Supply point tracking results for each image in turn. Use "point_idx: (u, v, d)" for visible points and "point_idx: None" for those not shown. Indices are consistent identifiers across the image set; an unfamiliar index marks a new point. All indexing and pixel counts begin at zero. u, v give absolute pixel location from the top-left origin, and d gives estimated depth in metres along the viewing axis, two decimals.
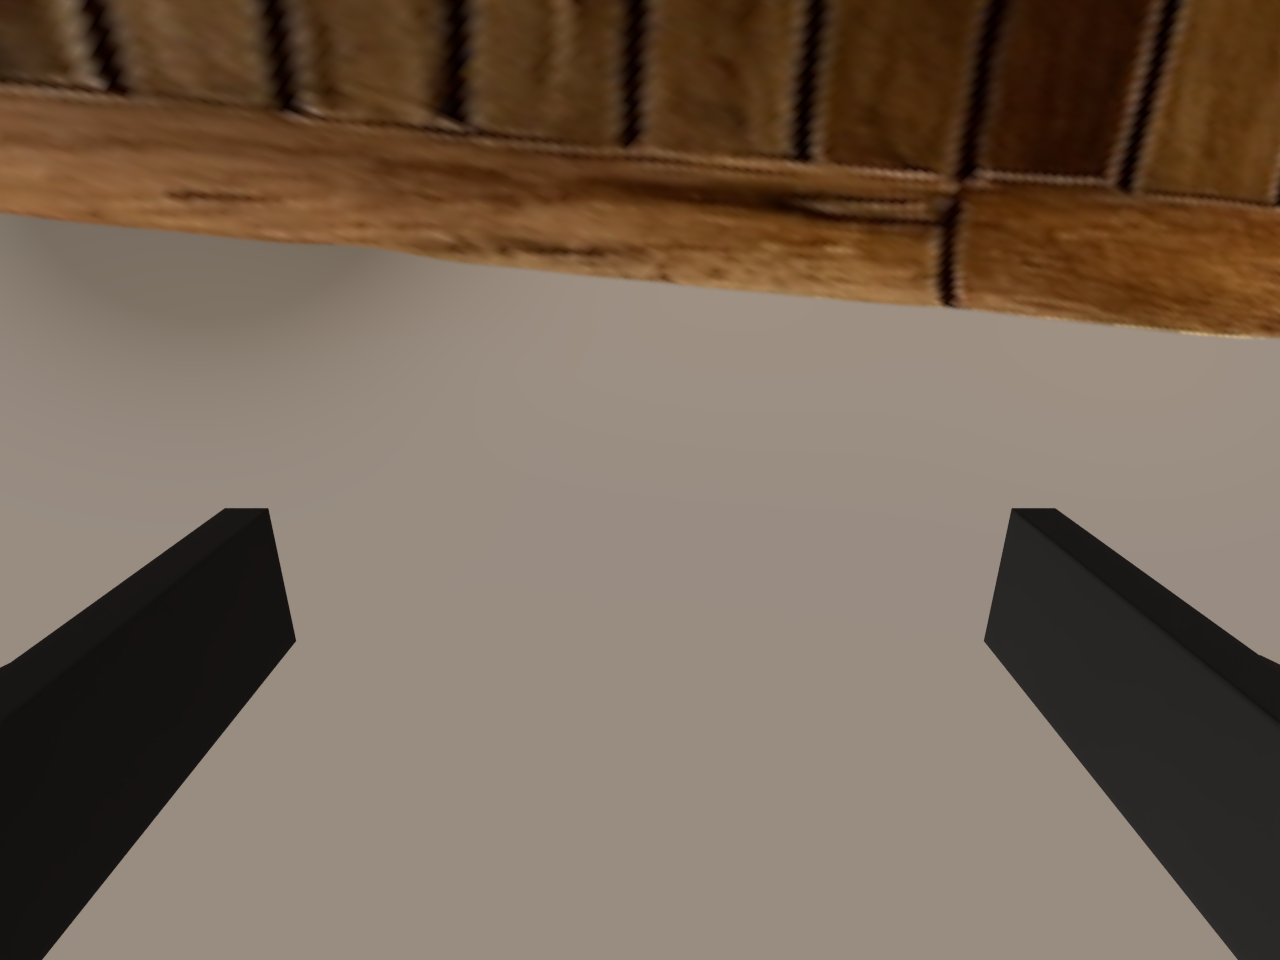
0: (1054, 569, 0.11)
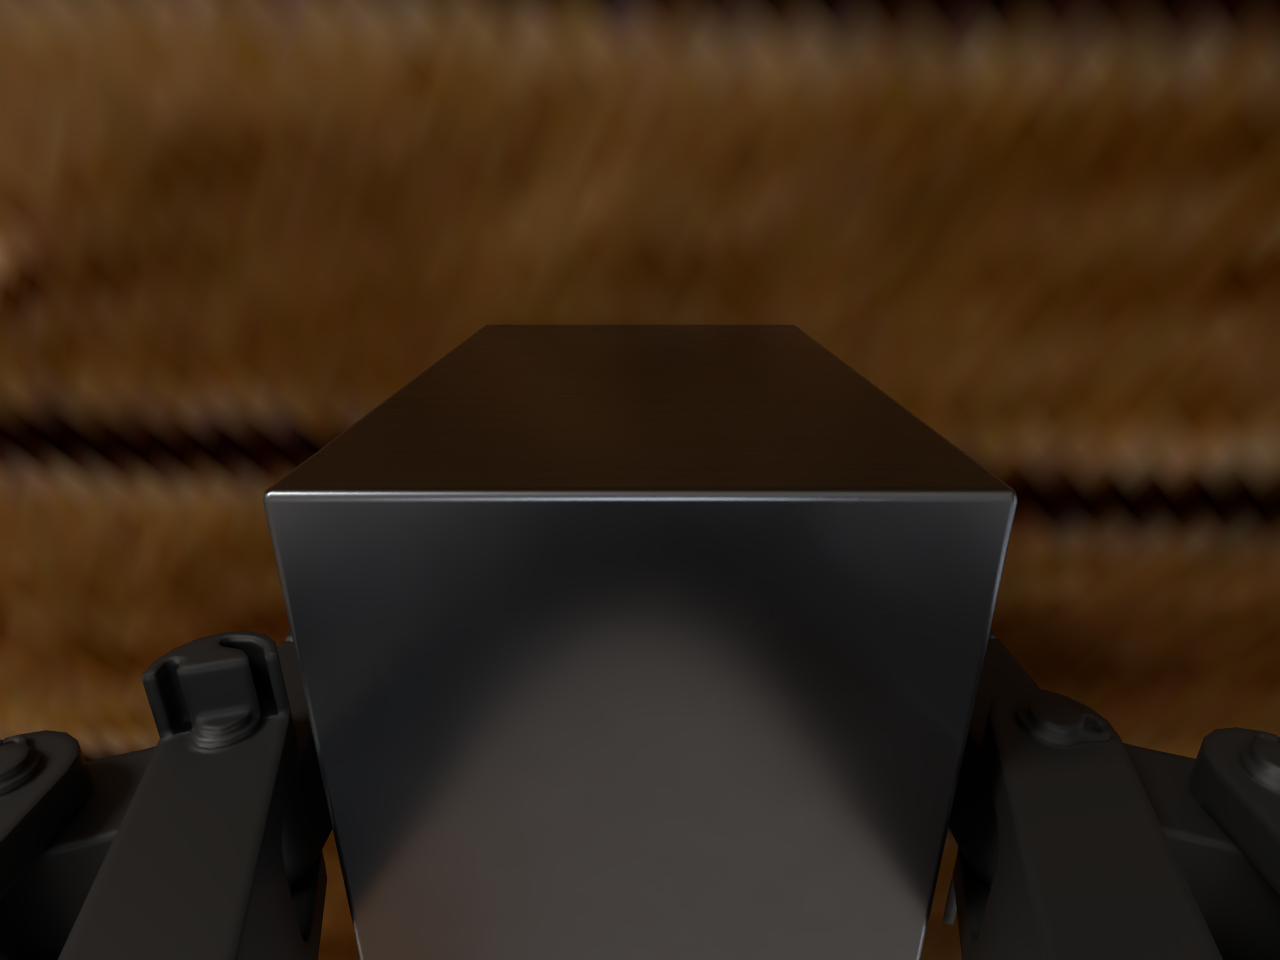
0: None
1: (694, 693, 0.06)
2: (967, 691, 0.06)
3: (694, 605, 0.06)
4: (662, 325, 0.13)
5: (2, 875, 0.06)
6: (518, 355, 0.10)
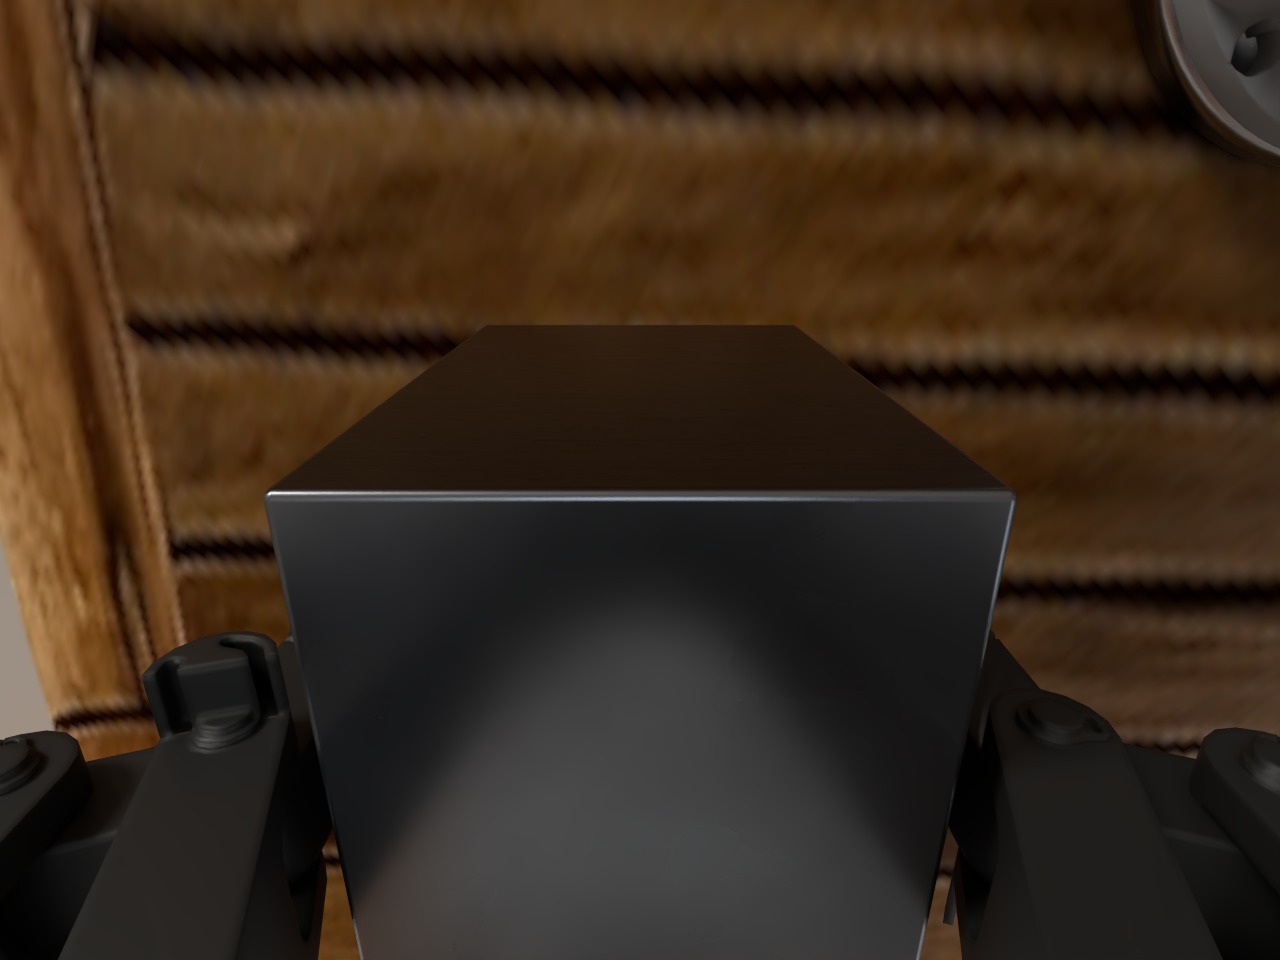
0: None
1: (694, 692, 0.06)
2: (967, 691, 0.06)
3: (695, 606, 0.06)
4: (662, 325, 0.13)
5: (2, 875, 0.06)
6: (518, 355, 0.10)
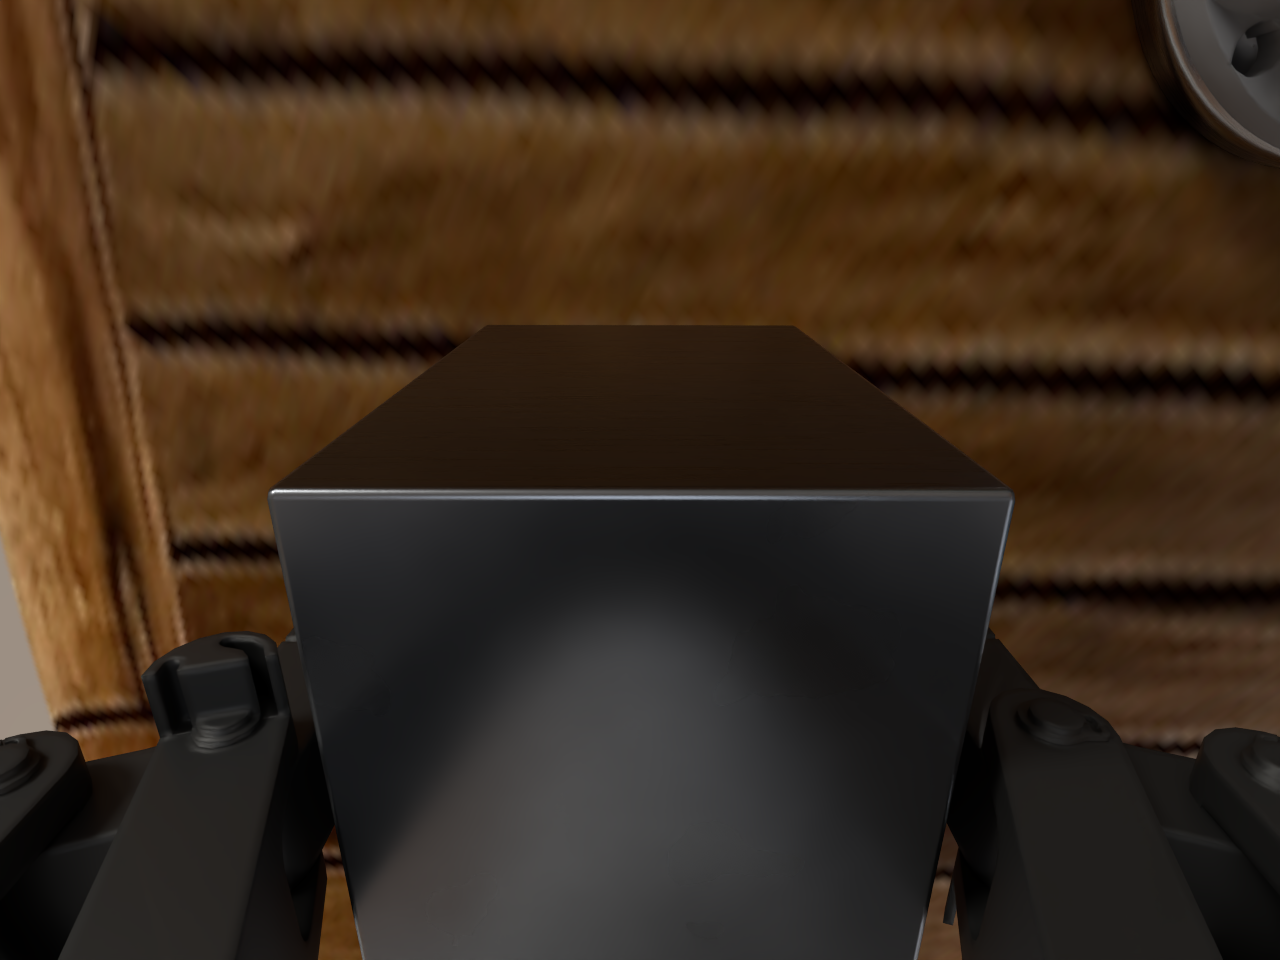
0: None
1: (695, 691, 0.06)
2: (965, 689, 0.06)
3: (695, 604, 0.06)
4: (662, 325, 0.13)
5: (1, 876, 0.06)
6: (519, 355, 0.10)
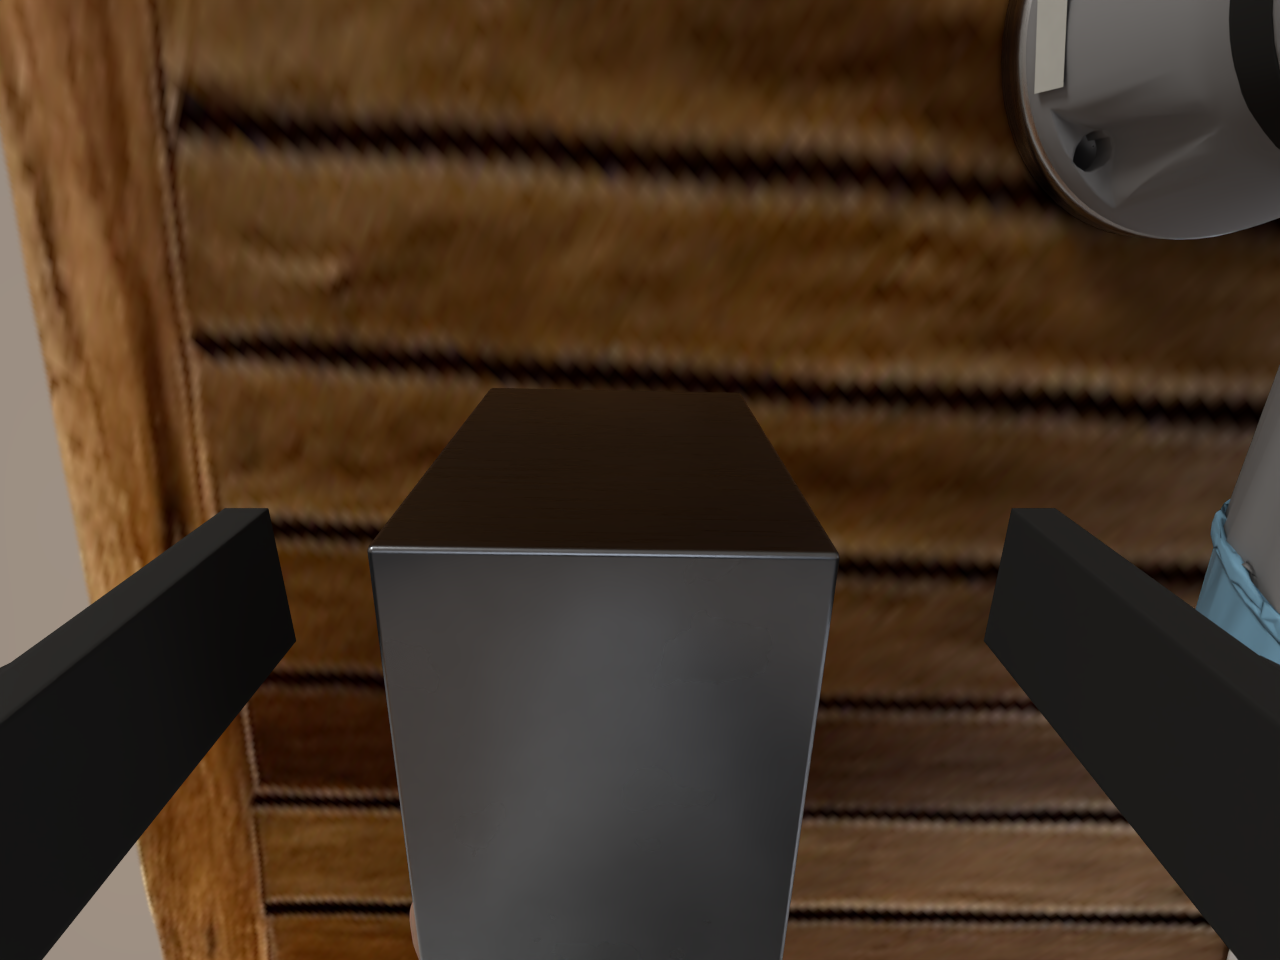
0: (1054, 569, 0.11)
1: (639, 677, 0.09)
2: (815, 678, 0.09)
3: (640, 622, 0.09)
4: (633, 391, 0.16)
5: None
6: (520, 424, 0.14)
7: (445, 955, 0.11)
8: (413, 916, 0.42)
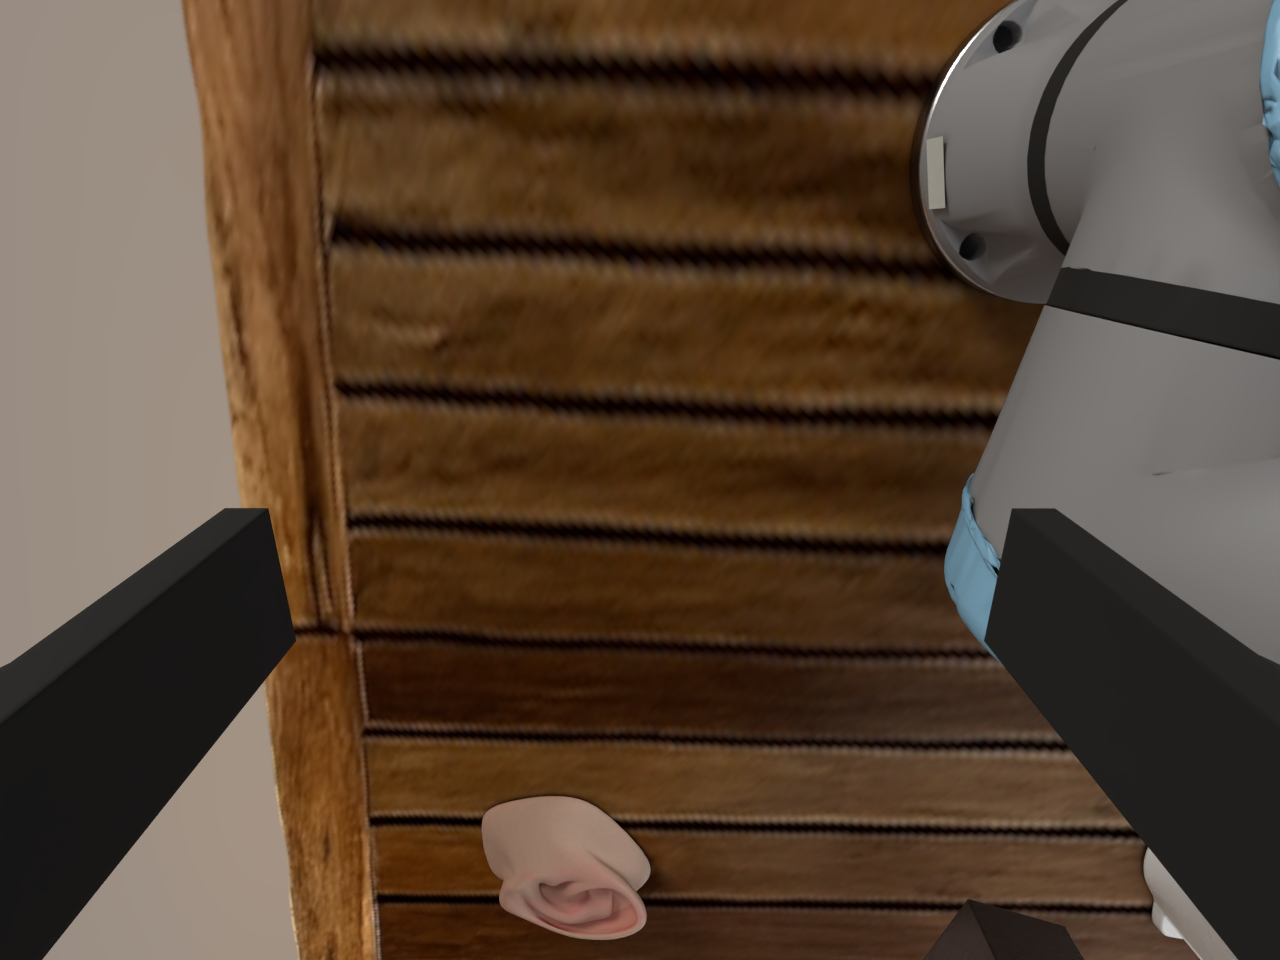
0: (1055, 569, 0.11)
1: None
2: None
3: None
4: (1025, 916, 0.37)
5: None
6: None
7: None
8: (485, 826, 0.53)
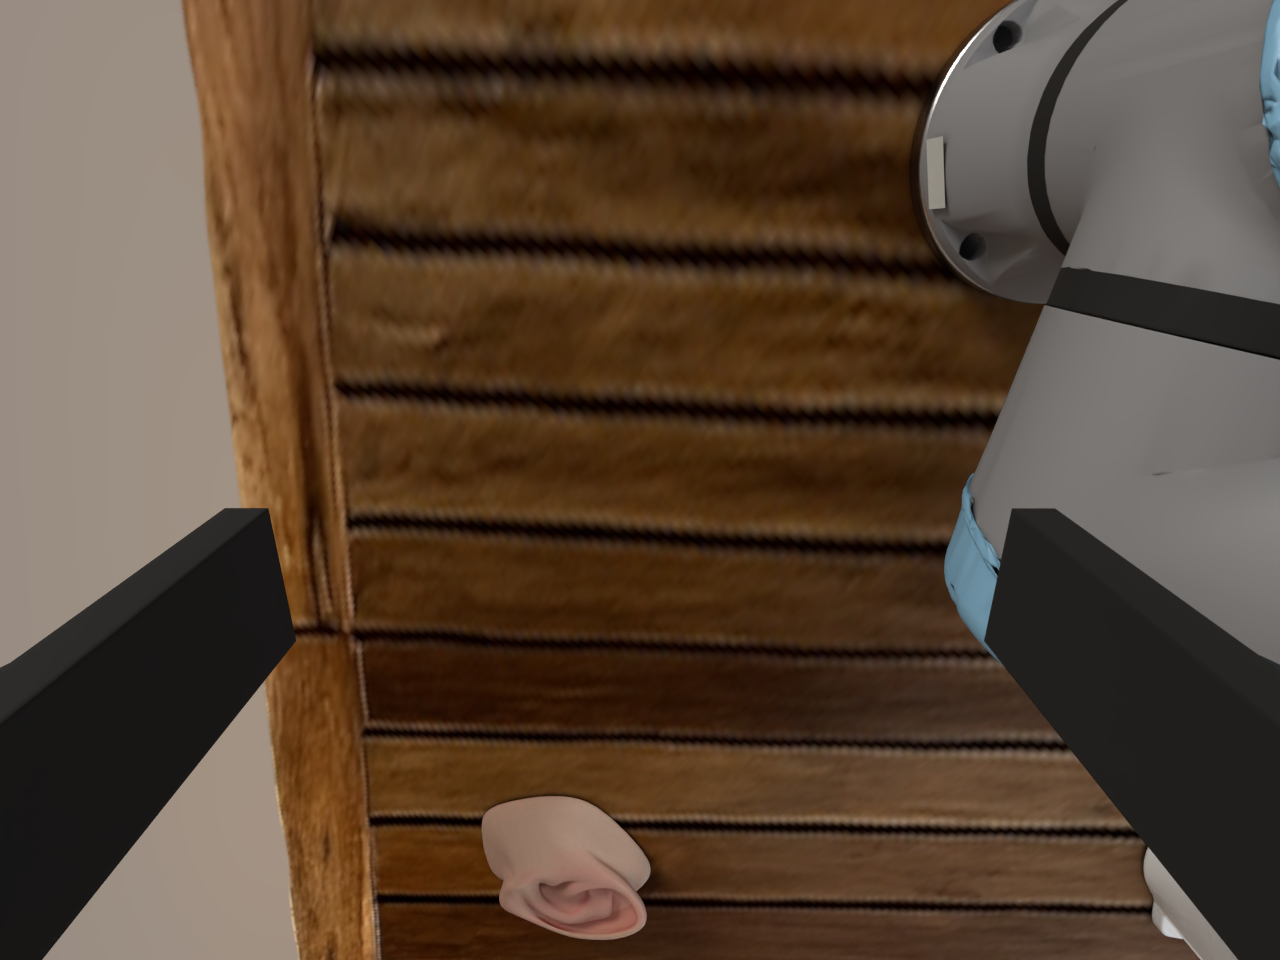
0: (1055, 569, 0.11)
1: None
2: None
3: None
4: None
5: None
6: None
7: None
8: (485, 826, 0.53)
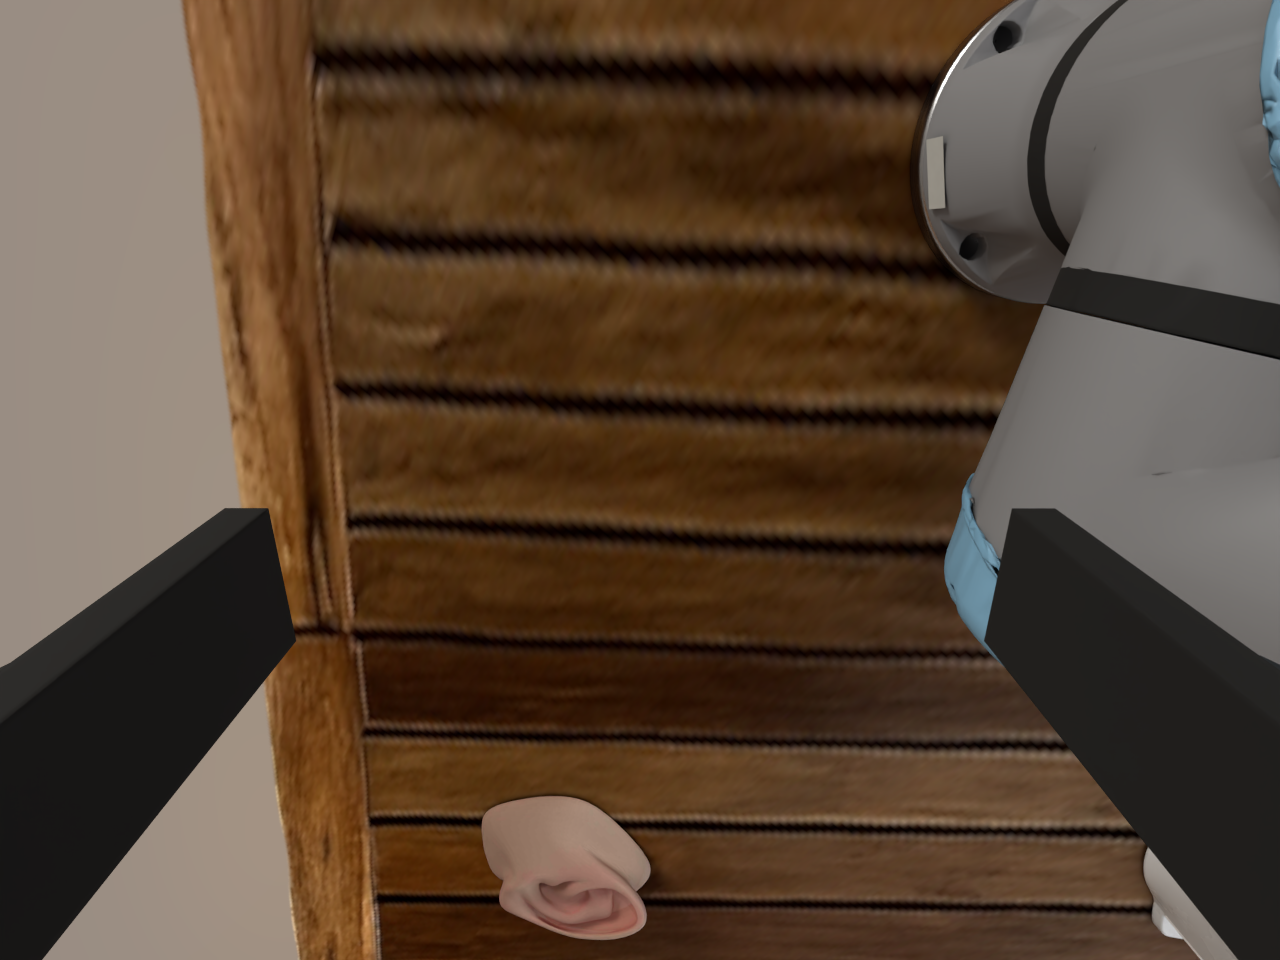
0: (1055, 569, 0.11)
1: None
2: None
3: None
4: None
5: None
6: None
7: None
8: (485, 826, 0.53)
